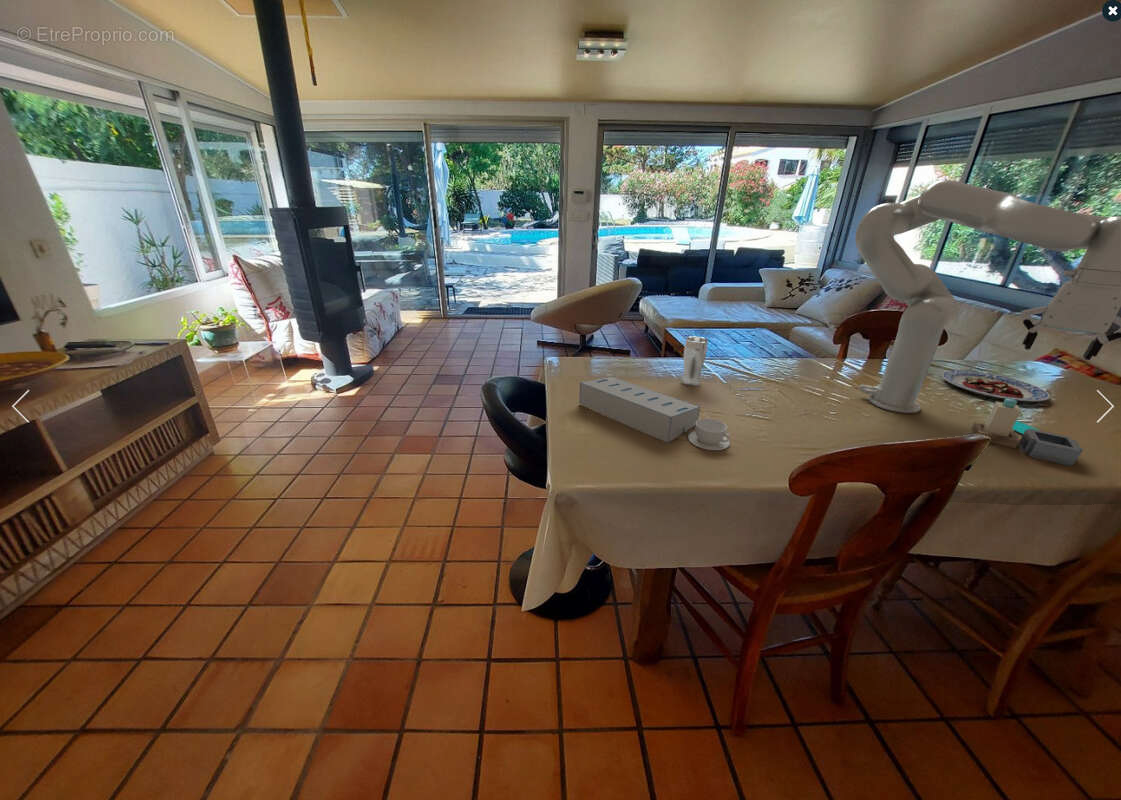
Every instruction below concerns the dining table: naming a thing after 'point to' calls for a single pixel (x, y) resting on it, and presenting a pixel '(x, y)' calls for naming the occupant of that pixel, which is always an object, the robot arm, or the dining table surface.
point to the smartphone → (1021, 427)
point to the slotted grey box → (639, 407)
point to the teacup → (710, 434)
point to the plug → (1002, 418)
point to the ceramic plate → (995, 386)
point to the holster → (998, 439)
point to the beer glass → (694, 360)
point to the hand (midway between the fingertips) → (1055, 353)
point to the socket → (1050, 447)
